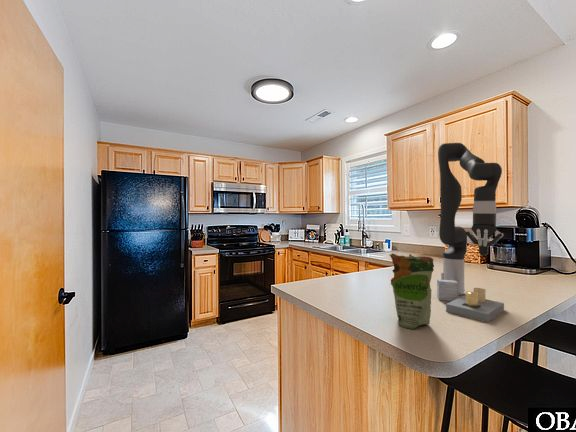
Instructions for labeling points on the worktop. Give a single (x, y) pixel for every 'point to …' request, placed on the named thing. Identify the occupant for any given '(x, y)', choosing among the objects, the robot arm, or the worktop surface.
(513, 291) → the worktop surface
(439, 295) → the medicine box
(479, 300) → the jig plate
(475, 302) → the brass bushing
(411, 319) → the pouch
